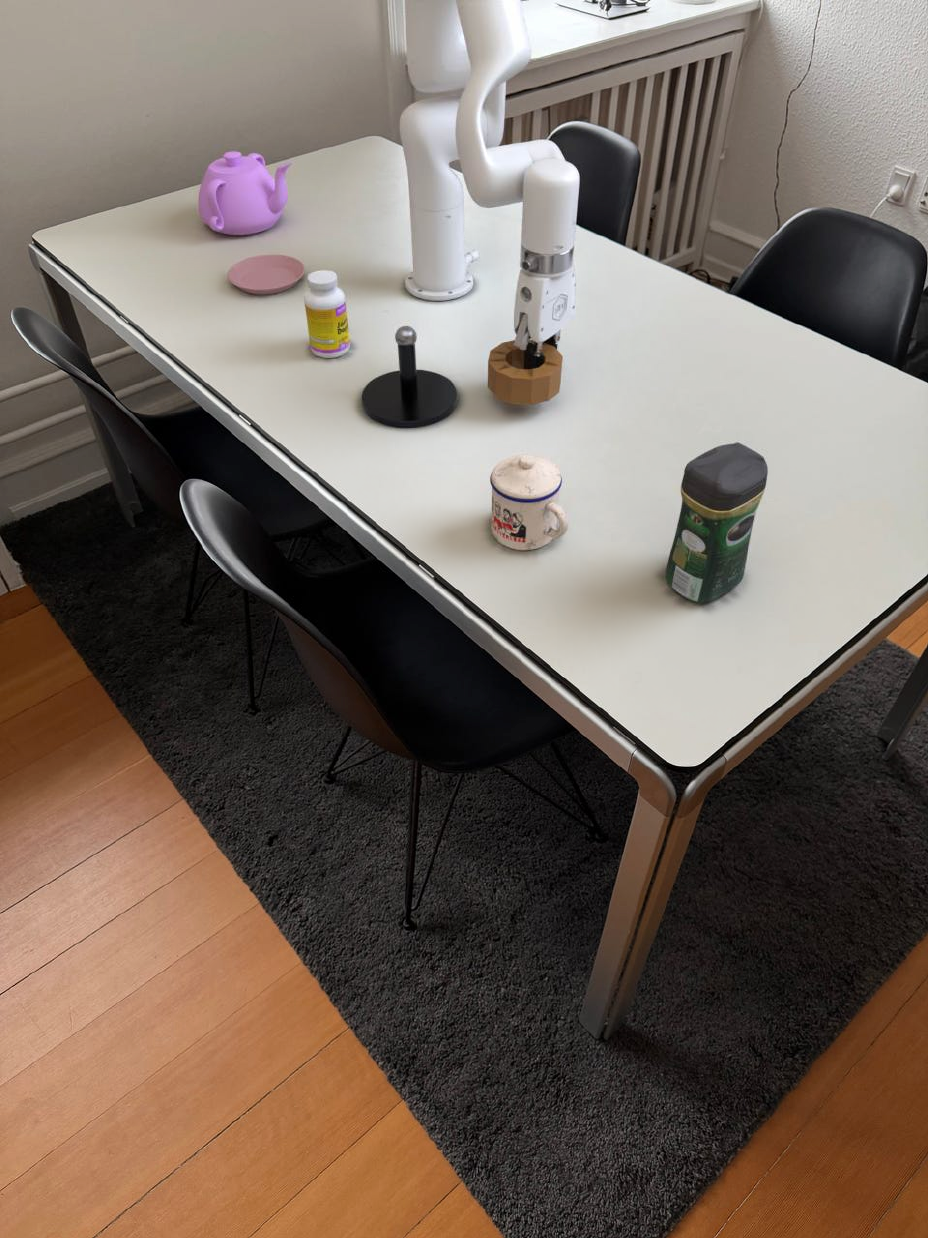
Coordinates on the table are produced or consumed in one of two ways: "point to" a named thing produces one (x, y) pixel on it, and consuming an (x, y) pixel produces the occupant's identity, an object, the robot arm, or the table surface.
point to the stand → (409, 391)
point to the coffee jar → (715, 521)
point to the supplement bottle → (326, 315)
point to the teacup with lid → (526, 502)
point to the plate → (266, 274)
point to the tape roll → (523, 375)
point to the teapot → (242, 194)
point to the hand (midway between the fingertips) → (539, 368)
